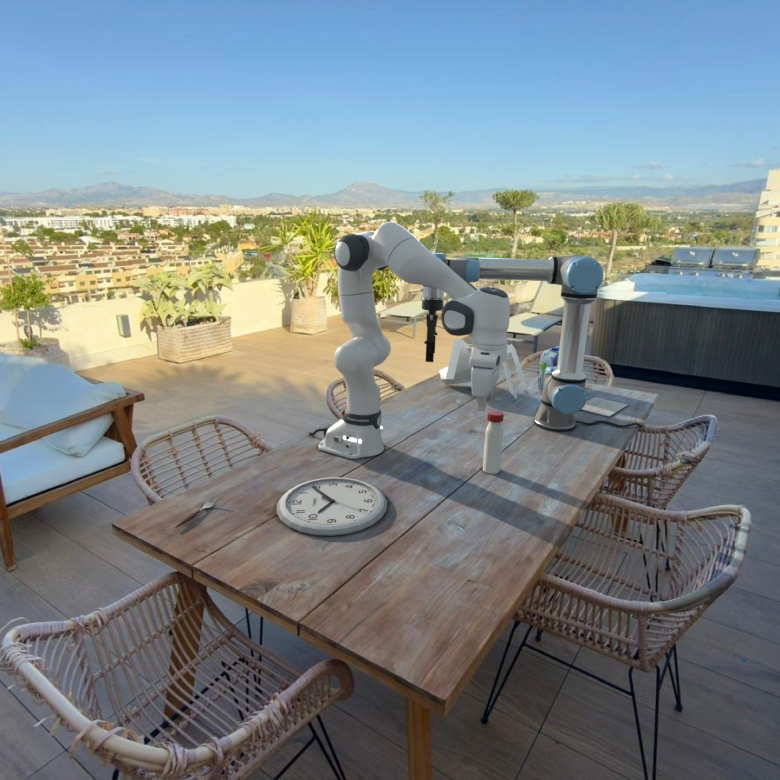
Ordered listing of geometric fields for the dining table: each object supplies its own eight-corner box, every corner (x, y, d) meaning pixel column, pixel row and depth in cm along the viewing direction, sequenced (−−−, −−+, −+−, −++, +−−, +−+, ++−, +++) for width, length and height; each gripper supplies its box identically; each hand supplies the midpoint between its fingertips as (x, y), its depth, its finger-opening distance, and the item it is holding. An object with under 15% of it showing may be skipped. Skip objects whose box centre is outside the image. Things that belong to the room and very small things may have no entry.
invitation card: (608, 416, 214) (573, 407, 224) (608, 416, 214) (573, 408, 224) (628, 404, 229) (594, 396, 238) (628, 405, 229) (594, 397, 238)
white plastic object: (461, 429, 252) (437, 405, 227) (444, 352, 274) (420, 323, 250) (535, 404, 240) (518, 377, 215) (510, 326, 262) (492, 293, 237)
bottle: (480, 466, 167) (484, 411, 162) (496, 466, 168) (501, 410, 163) (485, 474, 162) (490, 417, 157) (502, 473, 163) (507, 416, 158)
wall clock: (392, 527, 129) (268, 531, 127) (391, 533, 130) (269, 537, 127) (383, 473, 158) (282, 475, 155) (383, 478, 158) (282, 480, 156)
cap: (485, 417, 162) (486, 410, 161) (500, 417, 163) (500, 410, 162) (490, 423, 158) (490, 415, 157) (505, 422, 158) (505, 415, 158)
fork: (171, 528, 130) (170, 521, 130) (212, 499, 145) (211, 492, 144) (179, 530, 129) (178, 523, 129) (220, 500, 144) (219, 494, 143)
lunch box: (554, 397, 237) (559, 352, 231) (533, 392, 244) (538, 348, 238) (581, 386, 255) (586, 344, 248) (560, 381, 262) (565, 340, 256)
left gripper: (484, 343, 143) (480, 392, 147) (468, 360, 125) (464, 415, 129) (507, 346, 141) (503, 394, 145) (494, 363, 122) (490, 418, 127)
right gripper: (424, 293, 195) (422, 349, 202) (419, 302, 172) (417, 365, 178) (444, 294, 195) (441, 350, 201) (442, 303, 171) (439, 366, 177)
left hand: (485, 404), depth 137 cm, fingers open, 8 cm apart
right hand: (430, 357), depth 190 cm, fingers open, 13 cm apart
